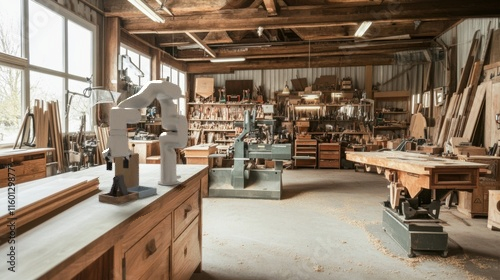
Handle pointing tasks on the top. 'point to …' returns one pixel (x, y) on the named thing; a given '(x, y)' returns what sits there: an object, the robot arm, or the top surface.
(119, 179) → the black angular piece
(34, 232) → the top surface
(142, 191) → the slate tray
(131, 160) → the block
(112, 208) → the top surface
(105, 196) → the walnut bin
